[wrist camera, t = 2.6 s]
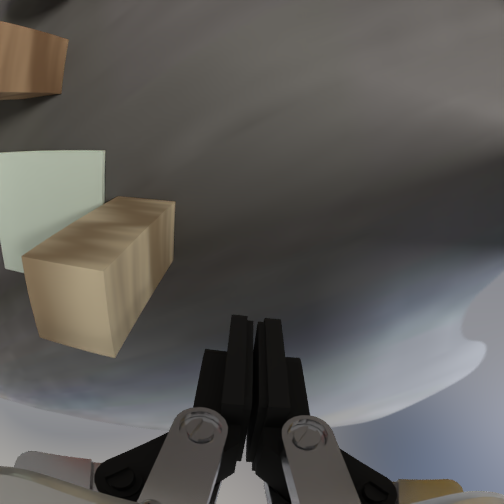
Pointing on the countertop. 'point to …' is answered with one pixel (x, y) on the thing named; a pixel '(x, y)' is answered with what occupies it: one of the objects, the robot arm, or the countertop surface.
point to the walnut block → (30, 62)
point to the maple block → (100, 273)
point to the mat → (45, 196)
